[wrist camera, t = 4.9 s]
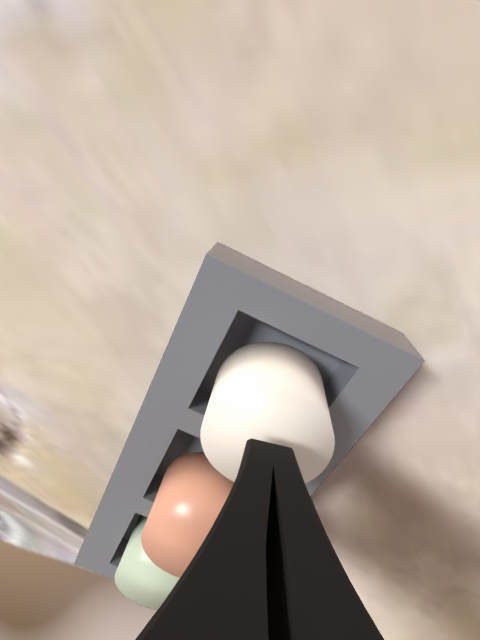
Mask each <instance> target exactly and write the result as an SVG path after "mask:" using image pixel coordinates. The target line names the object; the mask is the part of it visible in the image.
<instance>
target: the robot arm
mask: <svg viewBox="0 0 480 640" xmlns="http://www.w3.org/2000/svg"><path fill="white" fill-rule="evenodd" d="M136 640H384V638H383V637H382V635H381V634H380V632H379V630H378V629H377V627H376V625H375V624H374V622H373V620H372V618H371V617H370V615H369V613H368V612H367V610H366V608H365V607H364V605H363V603H362V601H361V600H360V598H359V596H358V594H357V593H356V591H355V589H354V587H353V585H352V584H351V582H350V580H349V578H348V576H347V574H346V572H345V570H344V568H343V567H342V565H341V563H340V561H339V559H338V557H337V555H336V553H335V551H334V549H333V547H332V544H331V542H330V540H329V538H328V536H327V534H326V532H325V530H324V528H323V525H322V523H321V521H320V518H319V516H318V514H317V511H316V509H315V507H314V505H313V502H312V500H311V497H310V495H309V492H308V490H307V487H306V485H305V482H304V479H303V477H302V474H301V471H300V468H299V466H298V463H297V460H296V457H295V453H294V451H293V449H292V448H291V447H286V446H282V445H278V444H273V443H269V442H265V441H261V440H256V439H252V438H251V439H249V440H247V442H246V445H245V449H244V453H243V456H242V460H241V464H240V467H239V471H238V474H237V477H236V480H235V482H234V484H233V486H232V489H231V491H230V493H229V495H228V497H227V499H226V501H225V503H224V505H223V507H222V509H221V511H220V513H219V515H218V516H217V518H216V520H215V522H214V524H213V526H212V528H211V529H210V531H209V533H208V534H207V536H206V538H205V540H204V541H203V543H202V545H201V546H200V548H199V549H198V551H197V553H196V554H195V556H194V557H193V559H192V561H191V562H190V564H189V565H188V567H187V568H186V570H185V571H184V573H183V574H182V576H181V577H180V579H179V580H178V582H177V583H176V585H175V586H174V588H173V589H172V591H171V592H170V593H169V595H168V596H167V598H166V599H165V601H164V602H163V603H162V605H161V606H160V608H159V609H158V610H157V612H156V613H155V614H154V616H153V617H152V618H151V620H150V621H149V622H148V624H147V625H146V626H145V628H144V629H143V630H142V632H141V633H140V634H139V636H138V637H137V638H136Z"/></svg>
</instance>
